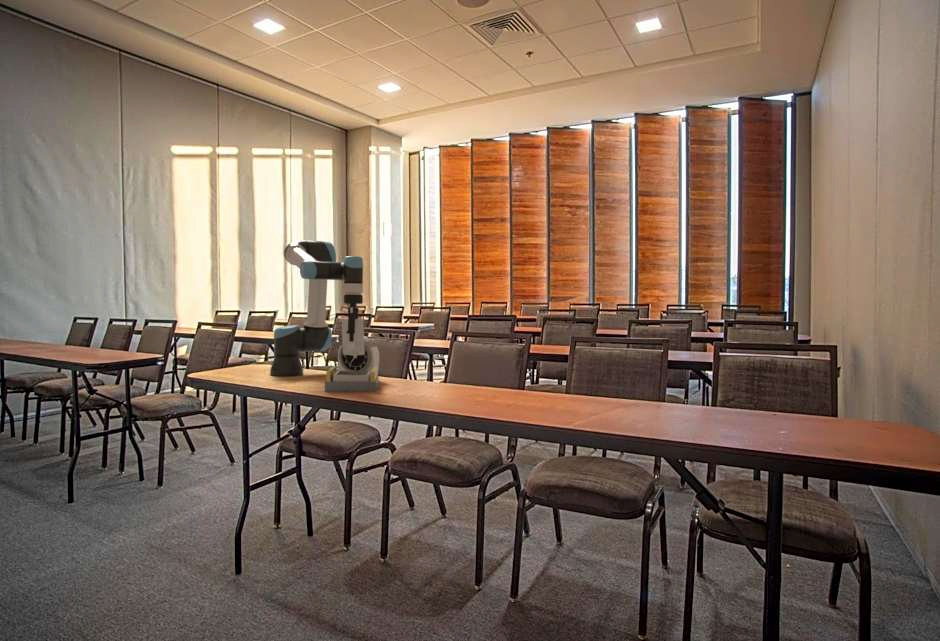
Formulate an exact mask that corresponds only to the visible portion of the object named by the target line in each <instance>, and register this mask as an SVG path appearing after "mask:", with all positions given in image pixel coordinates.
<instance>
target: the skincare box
mask: <svg viewBox="0 0 940 641" xmlns="http://www.w3.org/2000/svg"><path fill="white" fill-rule="evenodd" d="M346 331H348V318H346V319H344V318H343V319H341V338H342V341H341V342H342V345H343V354H344V355H352V356H355V355H364V354H365V351H364V336H365V330H364V318H358V319H355V350H348V333H346Z"/></svg>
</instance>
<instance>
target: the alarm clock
mask: <svg viewBox="0 0 940 641" xmlns="http://www.w3.org/2000/svg"><path fill="white" fill-rule="evenodd" d="M364 351H365V354H364V355H355V356H352V355H344V354H343V344H342V345H340V346H339V348H338V352H337V353H338V354H337V365H338V371H372V369H373V367H377V375H378V374H379V373H378V372H379V366H380V351H379V349H378V346H377V345H375V343H374V342H373V341H372V340H370V339H369V337H367V336H365V335H364Z"/></svg>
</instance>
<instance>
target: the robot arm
mask: <svg viewBox="0 0 940 641" xmlns="http://www.w3.org/2000/svg"><path fill="white" fill-rule="evenodd" d="M283 256H284V260H285V261H286V262H287V263H288V264H290V265H292V266H296V267H297V268H299V273H300V277H301V278H302V279H305V280H308V297H307V314H306V315H307V317H306V321H305V322H304V323H303V327H301V326H300V325H299V324H293V325H285V326H284V325H283V326H280V327H276V328H275V329H274V331H273V332H274V334H273V343H274V344H273V361H272V364H271V367H270V370H269V372H270V373H269V374H270V376H275V377H290V376H293V377H294V376H300V375H303V374H304V368H303V364H302V362H301V359H300V353H304V352H318V353H319V352H325V351H328V349H329V348H330V346H331V344H332V340H333V339H332V338H333V334H332V331H333V330H332V329H331V327H329V324H328V322H326V312H327V311H326V310H327V293H328V281H330V280H331V281H332V280H333V281H343V285H342V288H343V293H344V295H343V303H344V304H347V305H349V307H348V308H347V313H348V314H347V319H348V331H346V333H348V350H355V319H359V310H360V309H359V308H358V304H359V305H360V304H361V305H362V304H363V300H364V296H363V295H362V294H363V292H364V284H363V283H364V282H363V279H364V278H363V276H364V262H363V261H364V260H363V258H362V257H361V256H357V255H356V256H355V255H354V256H353V255H349V256H348V255H347V256H345V257H344V259H343V261H342V262H341V261H340V262H339V261H337V254H336V249H335V247H334V245H333V243H331V242H330V241H325V240H324V241H323V240H307V239H299V240H293V241H291V242H290V243H288V244H287V245H286V247H285V248H284V251H283Z"/></svg>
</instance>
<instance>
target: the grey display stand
mask: <svg viewBox="0 0 940 641" xmlns="http://www.w3.org/2000/svg"><path fill="white" fill-rule="evenodd" d="M325 372H326V376H325V378H326V379H325V381H324V392H325V393H326V392H327V393H328V392H329V393H330V392H335V393H337V392H338V393H341V392H343V393H353V392H354V393H357V392H358V393H361V392H363V393H365V392H366V393H370V392H369V391H374V393H375V391H376V392H377V390H378V388H379V375H378V374H377V367H373V369H372V371H339V370H337V366H331V367H330V368H329V369H328V370H327V371H325Z"/></svg>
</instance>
